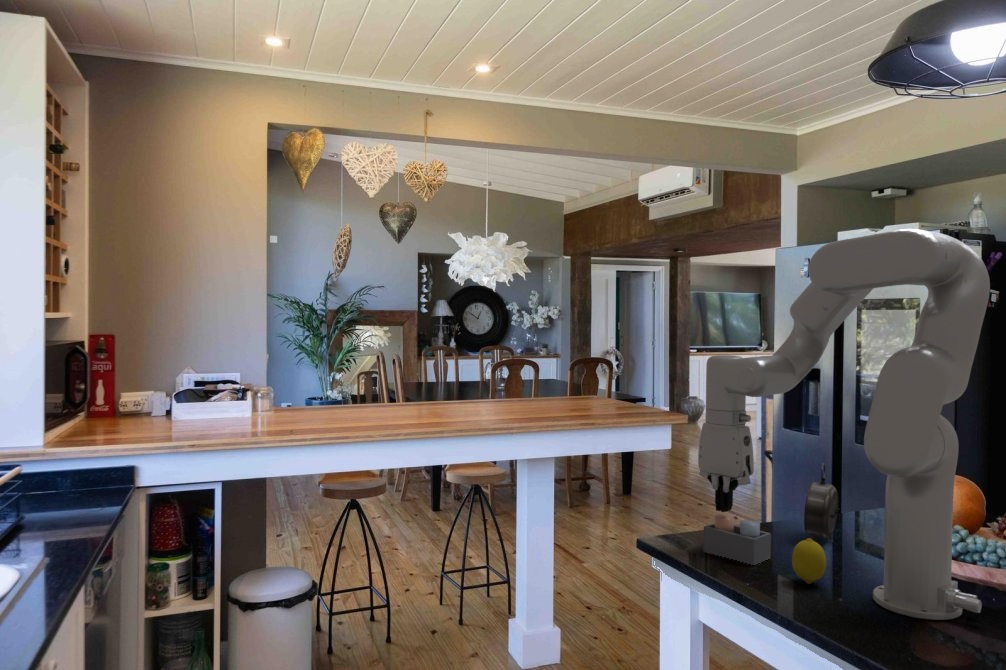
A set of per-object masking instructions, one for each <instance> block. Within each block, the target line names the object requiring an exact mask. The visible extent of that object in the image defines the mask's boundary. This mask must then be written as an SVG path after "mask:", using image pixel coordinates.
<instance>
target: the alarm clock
mask: <svg viewBox="0 0 1006 670" xmlns="http://www.w3.org/2000/svg"><path fill="white" fill-rule="evenodd" d="M820 473H821V474H820V475H821V477H820V482H817V481H813V482H812V483H811V484H810V486H809V488H808V490H807V493H806V499H805V504H804V513H803V515H804V517H803V526H804V531H805V533H806V534H807V535H810V536H811V537H810V539H812V540H813V541H815V539H816V537H820V538H824V539H827V538H829V539H830V541H831V542H832V543H834V539H833V537H832V535H833V532H834V530H835V528H836V524H837V518H838V514H839V511H840V508H839V493H838V490H837V488H836V487H835V486H834V485H833V484H827V483H826V478H827V477H826V464H825V463H821V471H820Z"/></svg>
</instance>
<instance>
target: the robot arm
mask: <svg viewBox="0 0 1006 670" xmlns="http://www.w3.org/2000/svg"><path fill="white" fill-rule="evenodd" d="M807 270H808V271H807V272H808V276H809V279H810V281H811V282H810V283H809V284H808V285H807V287H806V288H805V289H804V290H803V291H802V292H801V293H800V295H799V296H798V297H797V298H796V299H795V300H794V301H793V303H792V304H791V305H790V309H789V313H790V316H791V319H792V320H793V327H792V330H791V332H790V334H789V335H788V337H787V338H786V339H785V341H784V342H783V343H782V344H781V345H780V347H778V349H777V350H776V351H775V352H774V353H773V354H771V355H761V356H748V357H743V356H740V355H727V354H725V355H721V354H719V355H712V356H709V358H708V359H707V360H706V368H705V369H706V374H705V377H706V378H705V422H703V423H702V427H701V431H700V436H699V444H698V453H697V454H698V455H697V457H698V458H697V463H698V468H699V473H698V474H699V476H700V477H702V478H704V479H706V480H708V482H709V483H710V484H711V486H712V487H711V488H712V489H713V490H714V504H715V510H716V511H717V512H721V513H726V512H730V511H732V509H733V505H734V491H736V489H737V488H738V487H739V486H747V485H750V484H751V477H750V476H752V475H753V474H754V472H755V471H754V470H755V467H754V466H755V465H754V464H755V462H754V447H753V439H752V433H751V428H750V426H748V425H746V424H747V423H750V422H751V421H752V418H751V415H750V414H747V410H746V404H747V402H746V400H747V399H746V398H747V397H750V398H751V397H752V398H760V397H767V396H771V395H773V396H774V395H781V394H785V393H787V392H789V391H791V390H792V389H794V388H795V387H796V386H797V385H798V384H800V382H801V381H802V380H804V378H805V377H806V376H807V375H808V374H809V373H810V372H811V371H812V369H813V368H815V366H816V365H817V364H818V363H819V361H820V359H821V357H822V356H823V354H824V352H825V350H826V348H827V347H828V344H829V342H830V338H831V336H832V335H833V334H834V332H835V331H836V330H837V329H838V328H839V327H840V326H841V325H842V324H843V322H844V321H845V320H846V319H847V318H848V317H849V316H850V315H851V314H852V313H853V311H854V310H855V309H856V308H857V307H858V306H859V305H860V304H861V303H862V302H863V300H865V299H866V297H867V296H868V295H869V294H870V293H871V292H872V291H873V290H874V289H879V288H887V287H896V286H904V285H905V286H907V285H908V286H909V285H910V286H924V287H926V289H927V290H928V291H927V298H926V300H925V302H924V305H923V307H922V308H921V312H920V314H919V317H918V319H917V320H918V322H917V327H916V331H915V333H914V338H913V340H912V343H911V344H912V345H910V346H907V347H904V348H901V349H900V350H897V351H896V352H894V353H893V354H891V355H890V357H888V359H886V361H885V362H884V364H883V366H882V368H881V370H880V371H879V373H878V374H879V375H878V378H877V381H876V384H875V387H874V388H875V389H874V393H873V397H872V401H871V405H870V410H869V413H868V417H867V421H866V424H865V430H864V437H863V446H864V451H865V456H866V458H867V459H868V461H869V462H870V464H871V465H872V466H873V467H874V468H875V469H876V470H877V471H878V472H880V473H882V474H883V475H887V476H886V477H887V478H886V483H885V493H884V494H885V495H884V496H885V497H884V498H885V499H884V501H885V502H884V540H883V541H884V546H883V547H884V549H883V550H884V551H883V556H884V558H883V584H882V585H879V586H877V587H874V589H873V590H872V599H873V601H874V602H875V603H876V604H878V605H879V606H880V607H882V608H884V609H886V610H888V611H891V612H894V613H896V614H899V615H902V616H906V617H911V618H916V619H922V620H930V621H945V620H953V619H956V618H959V617H961V615H962V614H963V609H965V610H967V611H969V612H972V613H978V614H980V613H981V611H982V608H983V607H982V606H983V605H982V604H983V603H982V601H981V600H980V599H978V595H975V594H971V593H965V592H962V591H961V590H960V589H959V588H958V587H959V586H958V584H959V583H958V581H956V580H952V566H953V565H952V564H953V563H952V561H953V560H952V559H953V558H952V557H953V517H954V516H953V515H954V493H955V492H954V489H955V479H956V473H957V472H956V471H957V465H958V460H959V451H960V450H959V447H960V446H959V438H958V434H957V431H956V430H955V427H954V426H953V425H952V424H951V422H950V421H949V420H948V419H947V418H946V417H944V416H943V415H942V414H941V413H942V411H943V406H944V405H947V404H950V403H952V402H955V401H956V400H958V399H959V398H961V397H962V395H963V394H964V393H965V391H966V389H967V387H968V384H969V381H970V377H971V376H970V375H971V371H972V367H973V363H974V359H975V357H976V353H977V348H978V345H979V340H980V335H981V331H982V328H983V327H982V326H983V324H984V323H983V322H984V319H985V315H986V311H987V307H988V303H989V300H990V299H989V298H990V291H991V282H990V276H989V272H988V269H987V267H986V265H985V263H984V260H983V259H982V258H981V257H980V256H979V254H978V252H976V251H975V250H974V249H973V248H971V247H970V246H969V245H968V244H966V243H964V242H962V241H961V240H959V239H957V238H955V237H952V236H950V235H948V234H944V233H942V232H941V233H940V232H936V231H931V230H930V231H929V230H924V229H917V228H904V229H895V230H888V231H884V232H880V233H874V234H869V235H864V236H858V237H853V238H852V237H851V238H845V239H841V240H836V241H832V242H829V243H827V244H826V243H825V244H824V245H823V246H820V248H818V249H817V250H816V251H815V253H814V254H813V255H812V257H811V259H810V261H809V263H808V269H807Z"/></svg>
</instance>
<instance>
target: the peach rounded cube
mask: <svg viewBox="0 0 1006 670" xmlns="http://www.w3.org/2000/svg"><path fill="white" fill-rule="evenodd" d="M734 519H735V517H734V516H733V515H731V514H725V513H724V514H723V513H722V514H721V513H720V514H715V515H714V523H715V528H716V529H720V530H724V531H728V532H732V533H734V525H735V523H734V522H735V520H734Z"/></svg>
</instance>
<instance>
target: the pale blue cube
mask: <svg viewBox="0 0 1006 670" xmlns="http://www.w3.org/2000/svg"><path fill="white" fill-rule="evenodd" d="M739 526H740V535H744V536H748V537H752V538H756V537H759V536H760V531H761V523H760V522H759V521H755V520H750V519H749V520H746V519H745V520H740V522H739Z"/></svg>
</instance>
